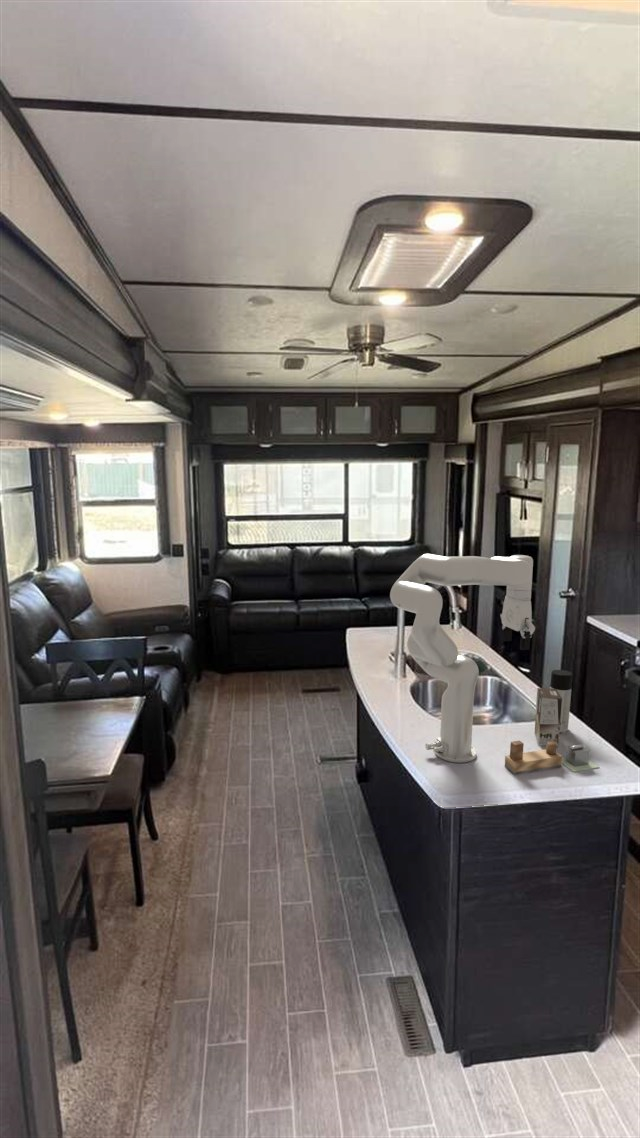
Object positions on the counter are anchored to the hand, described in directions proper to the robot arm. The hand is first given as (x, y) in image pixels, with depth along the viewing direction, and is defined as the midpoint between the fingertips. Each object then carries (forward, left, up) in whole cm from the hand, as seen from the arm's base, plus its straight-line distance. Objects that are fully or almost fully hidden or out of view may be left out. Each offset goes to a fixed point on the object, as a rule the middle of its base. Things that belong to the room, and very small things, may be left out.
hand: (515, 645), depth 197 cm
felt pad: (+7, -24, -30) cm, 39 cm away
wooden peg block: (-7, -22, -30) cm, 38 cm away
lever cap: (+7, -24, -30) cm, 39 cm away
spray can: (+17, -2, -31) cm, 35 cm away
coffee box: (+8, -8, -31) cm, 33 cm away
